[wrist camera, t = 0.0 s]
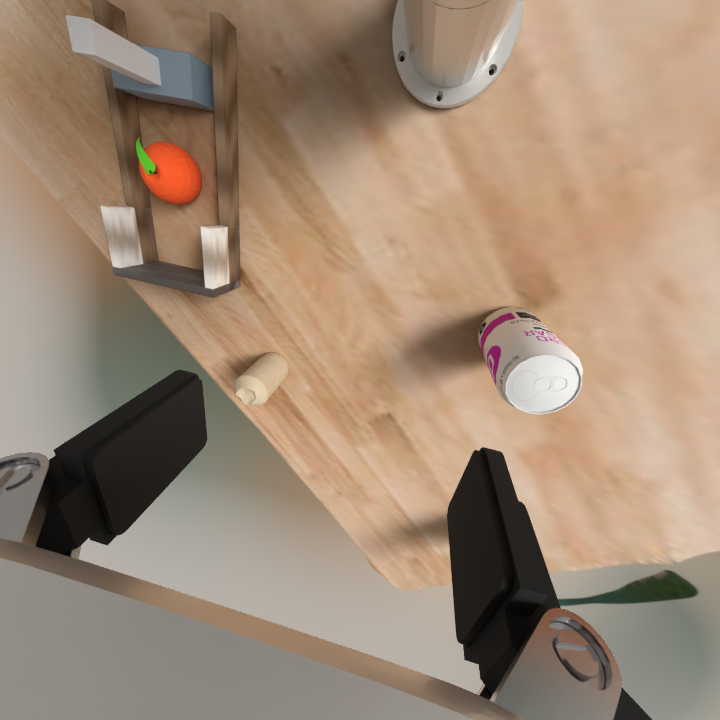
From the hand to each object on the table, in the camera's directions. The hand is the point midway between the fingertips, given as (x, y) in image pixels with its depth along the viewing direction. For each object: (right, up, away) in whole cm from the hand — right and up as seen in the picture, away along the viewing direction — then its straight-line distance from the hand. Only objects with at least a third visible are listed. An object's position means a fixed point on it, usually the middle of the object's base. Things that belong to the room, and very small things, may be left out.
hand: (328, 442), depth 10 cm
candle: (-14, +2, +44) cm, 46 cm away
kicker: (-22, +37, +28) cm, 51 cm away
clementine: (-23, +29, +33) cm, 49 cm away
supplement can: (+22, +7, +34) cm, 41 cm away
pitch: (-23, +29, +32) cm, 49 cm away
